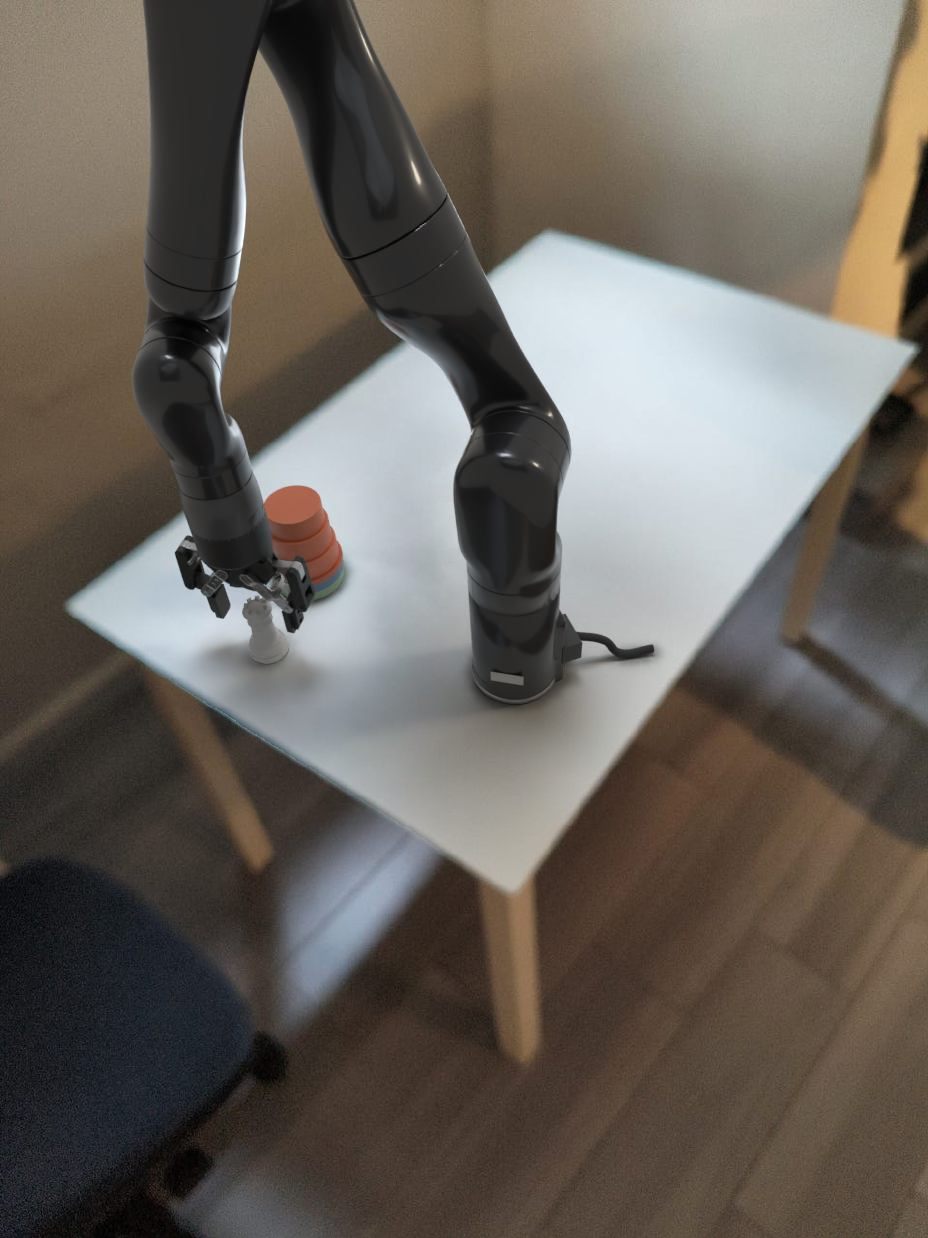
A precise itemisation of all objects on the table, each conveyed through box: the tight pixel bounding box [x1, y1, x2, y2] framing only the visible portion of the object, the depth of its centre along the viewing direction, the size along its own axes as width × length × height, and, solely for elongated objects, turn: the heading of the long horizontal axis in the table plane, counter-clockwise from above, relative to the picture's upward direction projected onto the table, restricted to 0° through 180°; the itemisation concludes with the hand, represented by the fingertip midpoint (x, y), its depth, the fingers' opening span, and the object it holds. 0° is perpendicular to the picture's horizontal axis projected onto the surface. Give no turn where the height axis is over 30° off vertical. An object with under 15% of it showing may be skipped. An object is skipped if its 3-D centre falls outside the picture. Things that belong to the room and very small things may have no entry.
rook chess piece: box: [241, 595, 290, 665], centre depth 102 cm, size 4×4×8 cm
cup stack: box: [263, 484, 345, 602], centre depth 108 cm, size 9×9×12 cm
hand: (258, 620), depth 102 cm, fingers open, 8 cm apart
